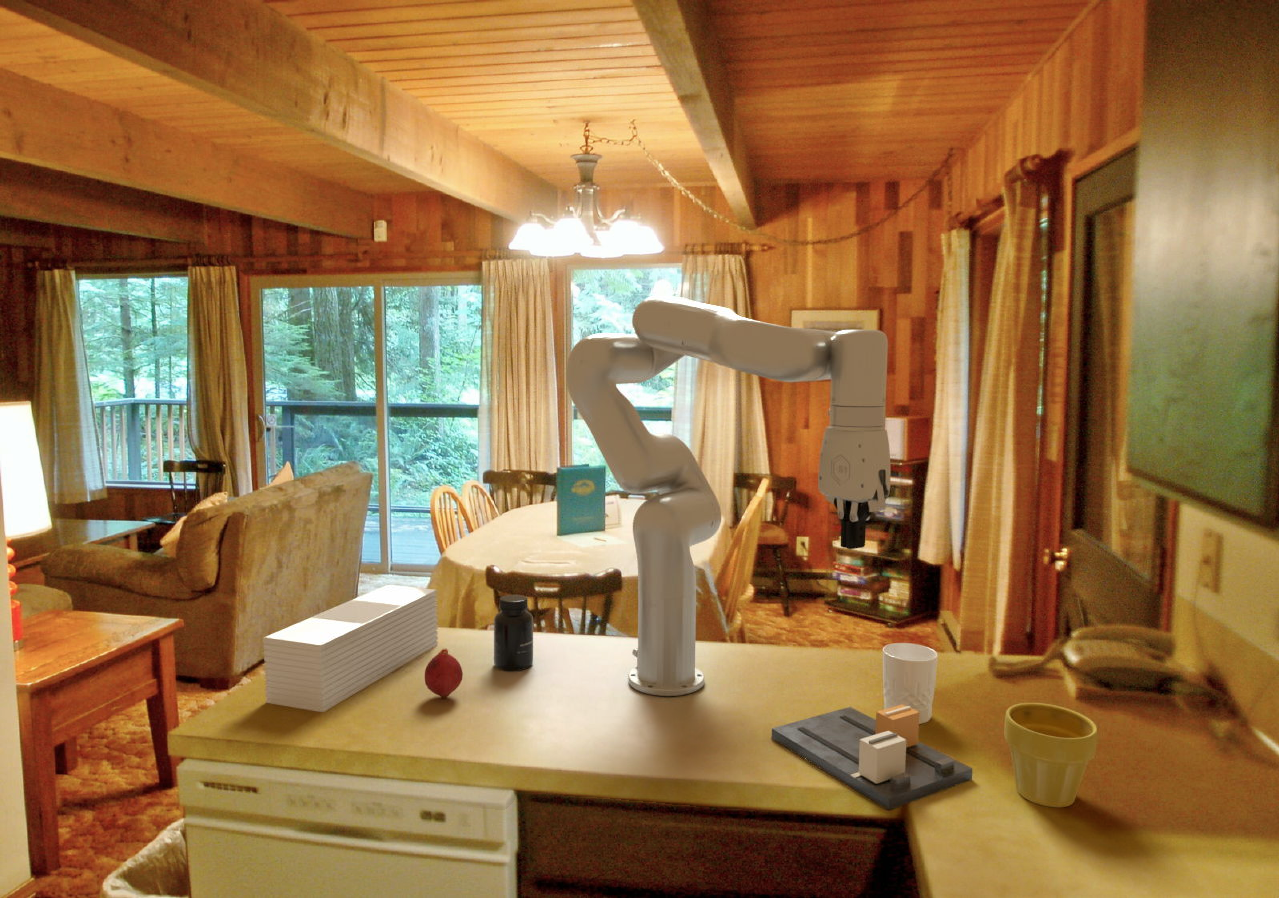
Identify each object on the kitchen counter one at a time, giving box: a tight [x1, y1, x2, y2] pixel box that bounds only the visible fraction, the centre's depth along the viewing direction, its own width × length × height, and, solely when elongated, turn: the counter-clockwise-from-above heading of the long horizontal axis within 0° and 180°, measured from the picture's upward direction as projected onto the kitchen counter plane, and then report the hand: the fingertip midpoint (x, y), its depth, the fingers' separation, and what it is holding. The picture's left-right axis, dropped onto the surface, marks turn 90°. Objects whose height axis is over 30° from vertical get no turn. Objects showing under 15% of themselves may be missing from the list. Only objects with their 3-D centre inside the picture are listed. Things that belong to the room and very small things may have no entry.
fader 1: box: [875, 704, 920, 748], centre depth 115 cm, size 3×5×5 cm, turn 120°
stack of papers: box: [262, 584, 439, 713], centre depth 145 cm, size 32×11×11 cm, turn 161°
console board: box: [771, 706, 973, 811], centre depth 115 cm, size 22×15×3 cm
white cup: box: [882, 642, 939, 725], centre depth 128 cm, size 8×8×10 cm
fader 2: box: [859, 731, 906, 784], centre depth 107 cm, size 3×5×5 cm, turn 120°
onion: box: [424, 647, 464, 699], centre depth 134 cm, size 6×6×8 cm
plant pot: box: [1003, 702, 1099, 808], centre depth 105 cm, size 10×10×10 cm
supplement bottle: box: [493, 594, 534, 672], centre depth 148 cm, size 7×7×12 cm
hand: (852, 546), depth 121 cm, fingers closed
